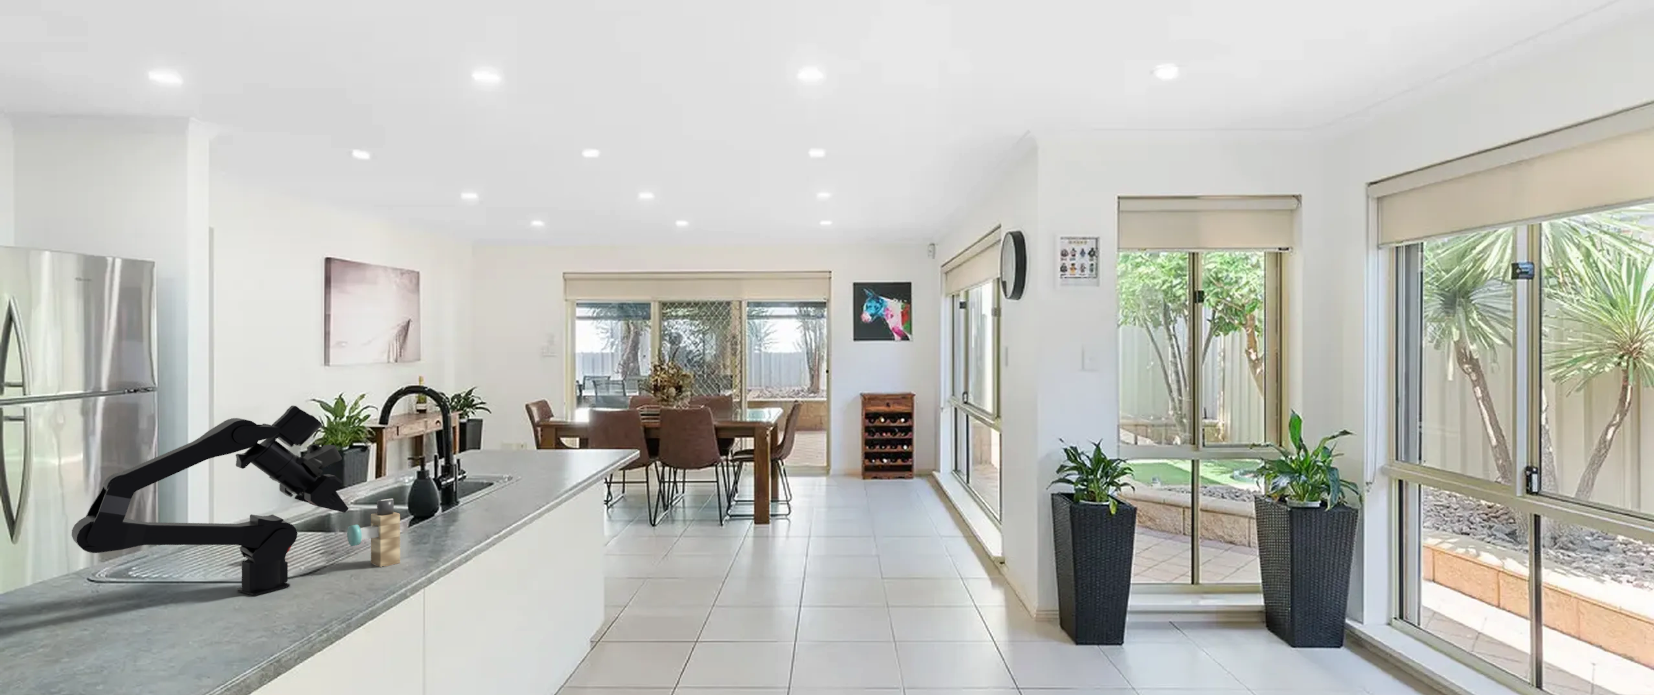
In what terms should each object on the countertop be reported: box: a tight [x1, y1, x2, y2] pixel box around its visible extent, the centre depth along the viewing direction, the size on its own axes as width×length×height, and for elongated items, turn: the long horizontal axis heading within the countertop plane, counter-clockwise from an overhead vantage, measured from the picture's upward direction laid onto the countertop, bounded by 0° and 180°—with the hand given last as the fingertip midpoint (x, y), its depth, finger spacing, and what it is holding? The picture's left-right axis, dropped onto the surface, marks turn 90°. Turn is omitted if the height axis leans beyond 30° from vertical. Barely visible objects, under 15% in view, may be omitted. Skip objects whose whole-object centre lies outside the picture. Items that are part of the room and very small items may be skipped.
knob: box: [346, 524, 379, 547], centre depth 163 cm, size 6×4×4 cm
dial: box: [376, 498, 395, 515], centre depth 166 cm, size 3×3×3 cm
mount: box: [370, 511, 401, 568], centre depth 166 cm, size 4×5×11 cm
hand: (342, 509), depth 159 cm, fingers open, 5 cm apart
